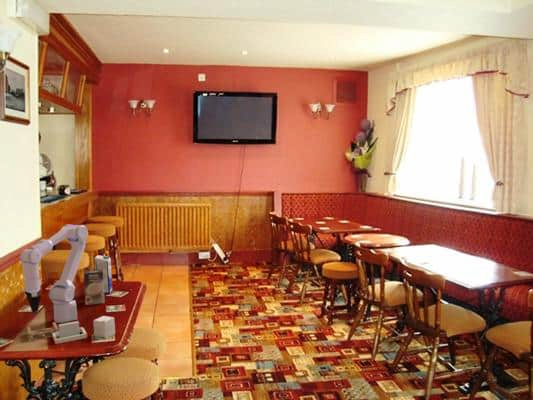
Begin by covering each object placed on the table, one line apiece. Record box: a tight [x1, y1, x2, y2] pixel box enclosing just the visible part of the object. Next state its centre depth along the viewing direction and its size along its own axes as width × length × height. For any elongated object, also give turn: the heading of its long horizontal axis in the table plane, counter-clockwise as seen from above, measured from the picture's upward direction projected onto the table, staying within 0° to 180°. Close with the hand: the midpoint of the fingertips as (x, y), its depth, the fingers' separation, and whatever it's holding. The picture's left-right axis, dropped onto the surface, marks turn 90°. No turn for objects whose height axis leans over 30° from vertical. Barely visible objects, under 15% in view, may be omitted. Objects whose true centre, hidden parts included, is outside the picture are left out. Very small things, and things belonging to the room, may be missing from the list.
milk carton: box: [94, 254, 113, 295], centre depth 270 cm, size 7×7×20 cm
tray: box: [52, 326, 88, 345], centre depth 206 cm, size 12×9×2 cm
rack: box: [26, 321, 59, 342], centre depth 210 cm, size 11×10×4 cm
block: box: [58, 320, 81, 339], centre depth 205 cm, size 8×2×6 cm, turn 120°
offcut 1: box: [32, 332, 44, 341], centre depth 205 cm, size 4×2×2 cm, turn 120°
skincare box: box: [92, 315, 116, 338], centre depth 208 cm, size 6×6×7 cm
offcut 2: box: [44, 330, 55, 339], centre depth 208 cm, size 4×2×2 cm, turn 120°
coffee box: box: [83, 269, 105, 306], centre depth 253 cm, size 9×6×16 cm
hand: (34, 309), depth 213 cm, fingers open, 7 cm apart
